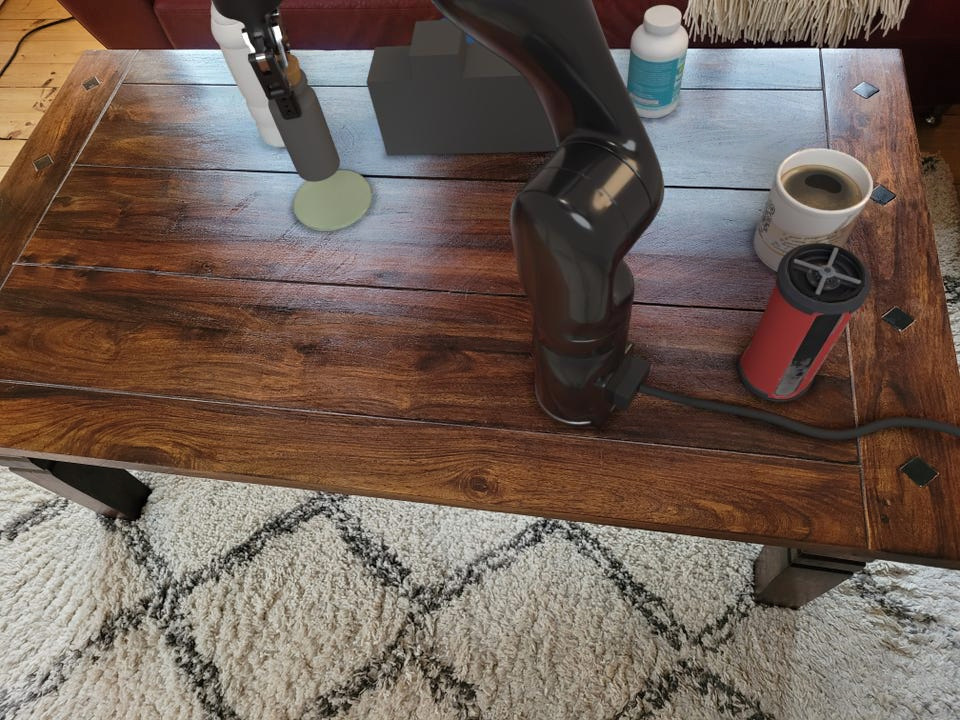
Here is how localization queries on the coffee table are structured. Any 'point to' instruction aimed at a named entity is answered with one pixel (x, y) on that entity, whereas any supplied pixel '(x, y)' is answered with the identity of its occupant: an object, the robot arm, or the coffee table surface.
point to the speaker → (803, 319)
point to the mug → (812, 203)
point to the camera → (453, 97)
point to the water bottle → (244, 74)
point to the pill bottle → (657, 62)
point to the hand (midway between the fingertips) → (292, 98)
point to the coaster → (333, 201)
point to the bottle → (306, 130)
